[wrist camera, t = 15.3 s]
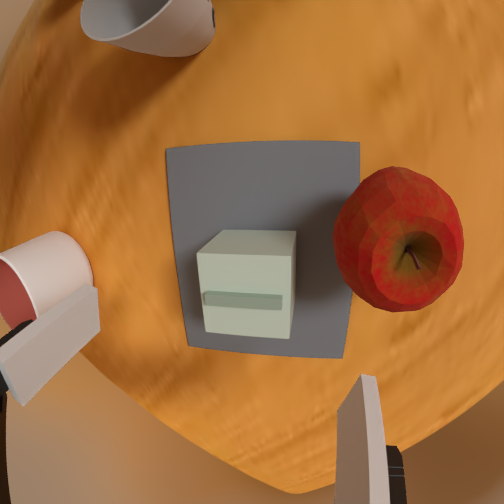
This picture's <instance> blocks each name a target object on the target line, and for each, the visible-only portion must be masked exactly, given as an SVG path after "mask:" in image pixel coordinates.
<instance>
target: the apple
mask: <svg viewBox="0 0 504 504" xmlns="http://www.w3.org/2000/svg"><path fill="white" fill-rule="evenodd" d="M332 238H333V244H334V250H335V256H336V261H337V265H338V267H339V270H340V272H341V274H342V276H343V279H344V281H345V283H346V284H347V285H348V286H349V287H350V288H351V289H352V290H353V291H354V292H355V293H356V294H357V295H358V296H359V297H360V298H362V299H363V300H365V301H366V302H367V303H369V304H370V305H372V306H373V307H375V308H379V309H382V310H386V311H390V312H404V311H415V310H420V309H422V308H424V307H426V306H428V305H430V304H432V303H433V302H434V301H435V300H436V299H438V298H439V297H440V296H441V295H442V294H443V293H444V292H445V291H446V290H447V289H448V288H449V287H450V286H451V285H452V284H453V283H454V281H455V279H456V277H457V275H458V273H459V271H460V269H461V267H462V260H463V249H464V239H463V229H462V225H461V221H460V218H459V214H458V211H457V208H456V206H455V205H454V203H453V201H452V199H451V197H450V196H449V195H448V194H447V193H446V192H445V191H444V190H443V189H441V188H440V187H439V186H438V185H437V184H436V183H435V182H434V181H433V180H431V179H430V178H428V177H426V176H423V175H421V174H419V173H416V172H414V171H412V170H409V169H407V168H402V167H394V166H391V167H388V168H384V169H381V170H378V171H377V172H375V173H373V174H372V175H370V176H369V177H367V178H366V179H364V180H363V181H362V182H361V183H360V185H359V186H358V187H357V188H356V190H355V191H354V192H353V193H352V195H351V196H350V197H349V198H348V199H347V201H346V202H345V203H344V205H343V207H342V209H341V211H340V212H339V214H338V216H337V218H336V220H335V223H334V229H333V236H332Z"/></svg>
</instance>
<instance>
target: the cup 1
mask: <svg viewBox="0 0 504 504" xmlns="http://www.w3.org/2000/svg"><path fill="white" fill-rule="evenodd" d="M86 283H87V284H89V285H91V286H93V274H92V269H91V266H90V263H89V260H88V258H87V256H86V254H85V252H84V251H83V249H82V248H81V246H80V245H79V244H78V243H77V242H76V241H75V240H74V239H73V238H72V237H71V236H69V235H68V234H66V233H63V232H60V231H51V232H48V233H46V234H43V235H41V236H38V237H36V238H34V239H31V240H29V241H27V242H24V243H22V244H20V245H18V246H15V247H13V248H11V249H9V250H6V251H4V252H2V253H0V314H1V315H2V317H3V319H4V320H5V322H6V323H7V325H8V326H9V327H10V329H11V330H12V329H13V330H14V328H15V327H16V326H18V325H19V324H20V323H22V322H25V321H27V320H30V319H32V320H33V321H35V320H36V319H37V318H39V317H40V316H41V315H43V314H44V313H46V312H47V311H48V310H50V309H51V308H52V307H54V306H55V305H56V304H58V303H59V302H61V301H62V300H63V299H65V298H66V297H68V296H69V295H71V294H72V293H73V292H75V291H76V290H78V289H79V288H81V287H82V286H83V285H85V284H86Z"/></svg>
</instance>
